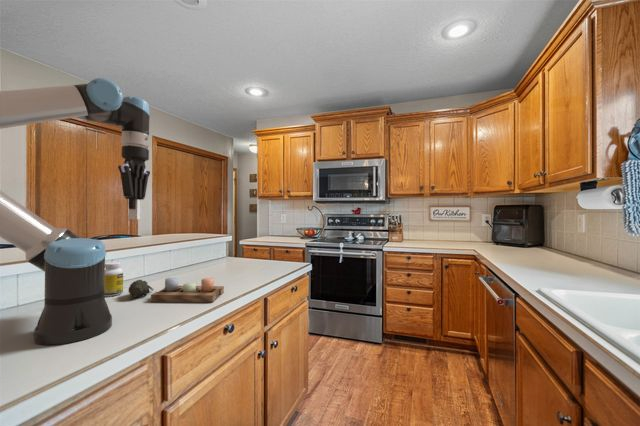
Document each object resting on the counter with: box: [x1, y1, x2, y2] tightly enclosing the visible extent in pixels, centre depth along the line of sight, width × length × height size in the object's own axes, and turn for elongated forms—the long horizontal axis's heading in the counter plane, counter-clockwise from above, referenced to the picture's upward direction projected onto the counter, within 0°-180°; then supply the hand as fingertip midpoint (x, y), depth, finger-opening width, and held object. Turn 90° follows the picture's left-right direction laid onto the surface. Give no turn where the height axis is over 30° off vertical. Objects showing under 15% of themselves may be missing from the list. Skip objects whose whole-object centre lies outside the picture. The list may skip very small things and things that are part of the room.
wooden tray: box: [150, 285, 225, 304], centre depth 103 cm, size 21×12×2 cm, turn 92°
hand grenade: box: [128, 279, 154, 298], centre depth 104 cm, size 6×7×12 cm
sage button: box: [182, 282, 197, 292], centre depth 103 cm, size 4×4×4 cm
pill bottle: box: [104, 261, 124, 298], centre depth 104 cm, size 6×6×12 cm
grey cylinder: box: [164, 277, 179, 292], centre depth 103 cm, size 4×4×4 cm
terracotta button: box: [200, 277, 215, 292], centre depth 103 cm, size 4×4×4 cm
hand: (134, 219), depth 92 cm, fingers closed
